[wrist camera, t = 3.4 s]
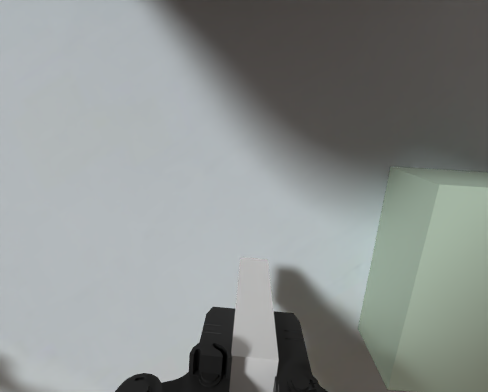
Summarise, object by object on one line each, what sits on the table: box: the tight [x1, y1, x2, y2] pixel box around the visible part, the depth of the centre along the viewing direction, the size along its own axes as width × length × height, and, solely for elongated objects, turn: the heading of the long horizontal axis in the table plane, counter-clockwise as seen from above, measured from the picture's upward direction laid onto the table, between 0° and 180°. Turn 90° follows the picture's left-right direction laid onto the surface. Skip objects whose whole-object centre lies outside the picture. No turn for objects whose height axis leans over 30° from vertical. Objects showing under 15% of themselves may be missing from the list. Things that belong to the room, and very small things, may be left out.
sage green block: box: [358, 167, 488, 392], centre depth 17 cm, size 12×6×5 cm, turn 177°
